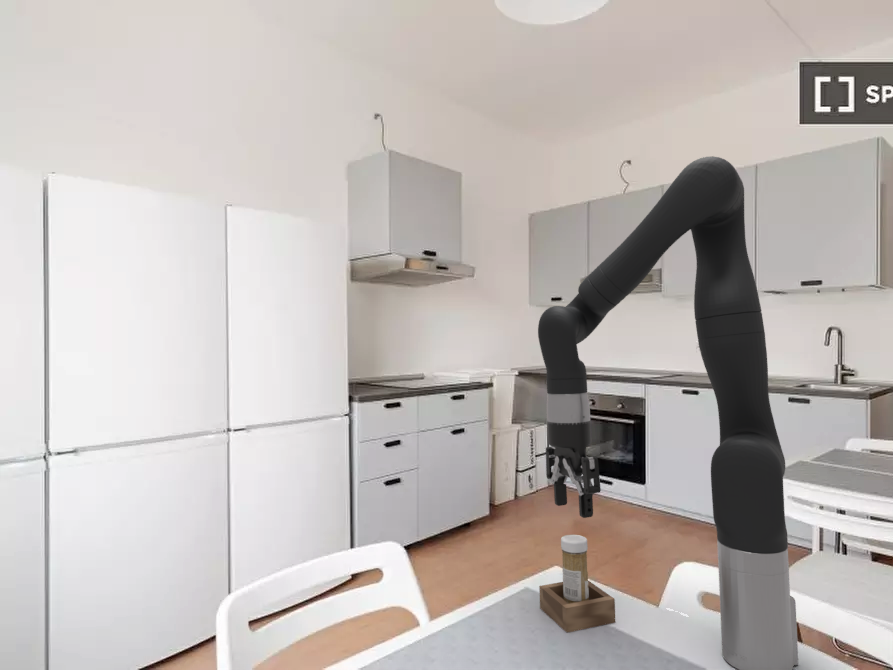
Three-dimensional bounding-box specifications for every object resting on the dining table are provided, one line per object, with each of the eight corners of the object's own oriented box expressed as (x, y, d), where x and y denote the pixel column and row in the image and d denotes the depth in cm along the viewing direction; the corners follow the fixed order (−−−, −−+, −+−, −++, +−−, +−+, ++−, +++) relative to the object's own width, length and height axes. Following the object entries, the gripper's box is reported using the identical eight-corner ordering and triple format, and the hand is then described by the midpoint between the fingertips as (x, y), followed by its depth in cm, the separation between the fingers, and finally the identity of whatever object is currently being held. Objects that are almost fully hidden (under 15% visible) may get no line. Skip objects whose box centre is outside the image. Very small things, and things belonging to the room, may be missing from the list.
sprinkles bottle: (595, 616, 97) (592, 538, 98) (577, 624, 95) (574, 544, 95) (575, 606, 101) (573, 531, 102) (557, 614, 99) (555, 537, 99)
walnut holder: (585, 599, 104) (584, 577, 104) (615, 622, 95) (614, 598, 95) (540, 608, 101) (539, 585, 101) (566, 632, 92) (565, 608, 92)
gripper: (610, 420, 93) (615, 518, 93) (566, 413, 107) (570, 498, 106) (570, 424, 91) (575, 524, 90) (531, 416, 105) (535, 503, 104)
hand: (573, 510), depth 98 cm, fingers open, 8 cm apart
